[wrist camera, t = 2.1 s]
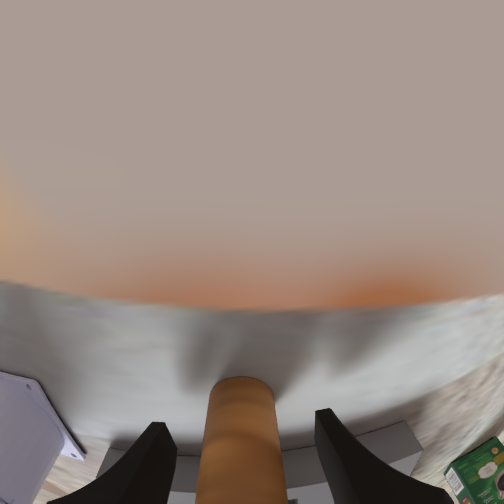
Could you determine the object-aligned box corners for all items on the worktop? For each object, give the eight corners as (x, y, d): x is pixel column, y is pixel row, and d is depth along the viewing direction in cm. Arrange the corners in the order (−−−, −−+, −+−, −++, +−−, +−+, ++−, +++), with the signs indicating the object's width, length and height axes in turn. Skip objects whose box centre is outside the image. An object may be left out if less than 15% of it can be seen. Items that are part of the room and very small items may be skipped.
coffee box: (439, 476, 17) (479, 549, 4) (448, 463, 16) (495, 540, 3) (486, 448, 17) (529, 507, 4) (495, 434, 16) (543, 494, 3)
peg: (216, 422, 13) (204, 552, 5) (203, 379, 12) (177, 529, 4) (275, 417, 13) (294, 549, 5) (270, 373, 12) (293, 528, 4)
